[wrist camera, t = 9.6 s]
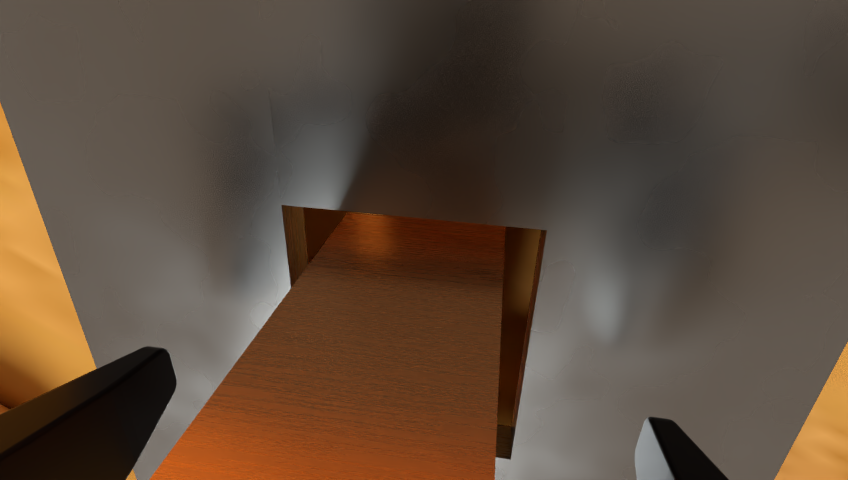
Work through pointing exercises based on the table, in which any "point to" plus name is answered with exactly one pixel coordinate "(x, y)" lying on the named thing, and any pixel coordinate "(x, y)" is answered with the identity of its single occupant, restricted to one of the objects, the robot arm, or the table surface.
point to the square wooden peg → (366, 365)
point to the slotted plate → (464, 191)
